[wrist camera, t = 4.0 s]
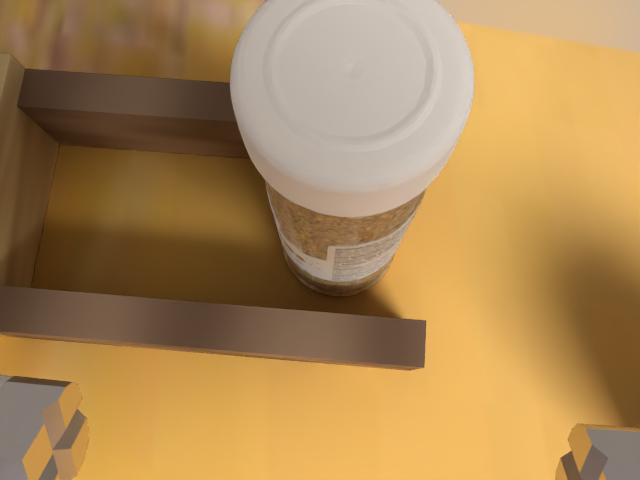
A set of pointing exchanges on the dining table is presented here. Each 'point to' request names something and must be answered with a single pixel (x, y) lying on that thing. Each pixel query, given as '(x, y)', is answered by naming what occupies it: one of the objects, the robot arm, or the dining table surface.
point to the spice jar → (349, 125)
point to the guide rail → (140, 312)
